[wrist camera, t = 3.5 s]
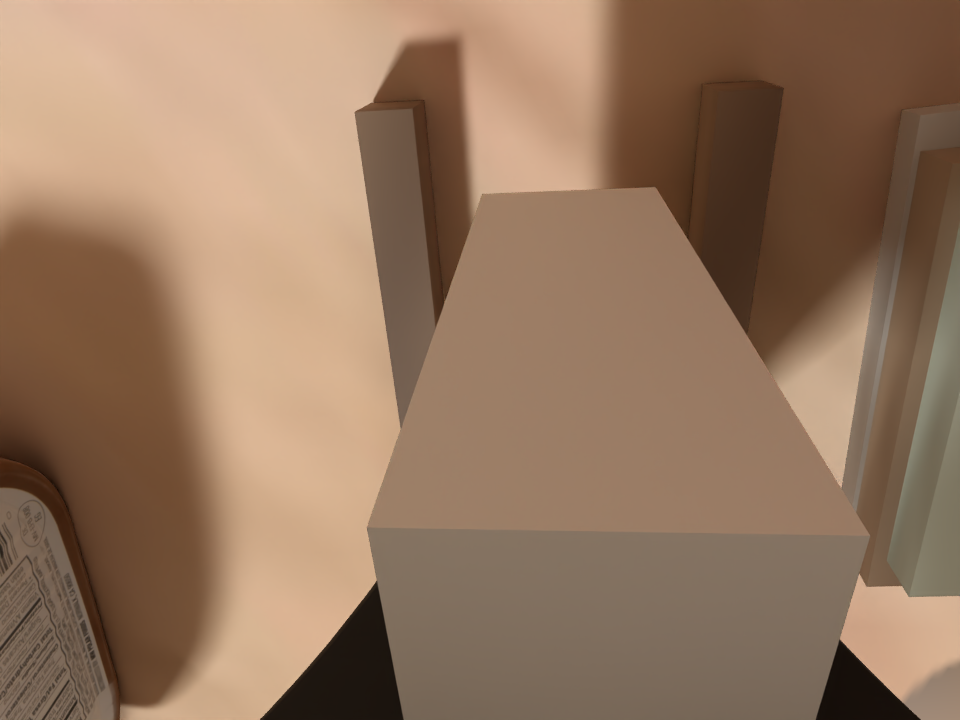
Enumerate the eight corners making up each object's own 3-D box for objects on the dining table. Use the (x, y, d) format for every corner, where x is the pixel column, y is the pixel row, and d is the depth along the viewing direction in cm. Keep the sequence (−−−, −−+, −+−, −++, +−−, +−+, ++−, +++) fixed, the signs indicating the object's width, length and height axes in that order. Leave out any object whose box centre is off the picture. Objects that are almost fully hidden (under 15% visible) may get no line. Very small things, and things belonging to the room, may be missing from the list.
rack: (1289, 49, 10) (1374, 54, 9) (1048, 552, 16) (1085, 591, 15) (370, 102, 12) (355, 112, 11) (429, 542, 17) (422, 577, 16)
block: (654, 187, 9) (870, 535, 3) (627, 619, 13) (694, 1127, 7) (482, 194, 10) (367, 527, 3) (508, 616, 14) (476, 1101, 8)
